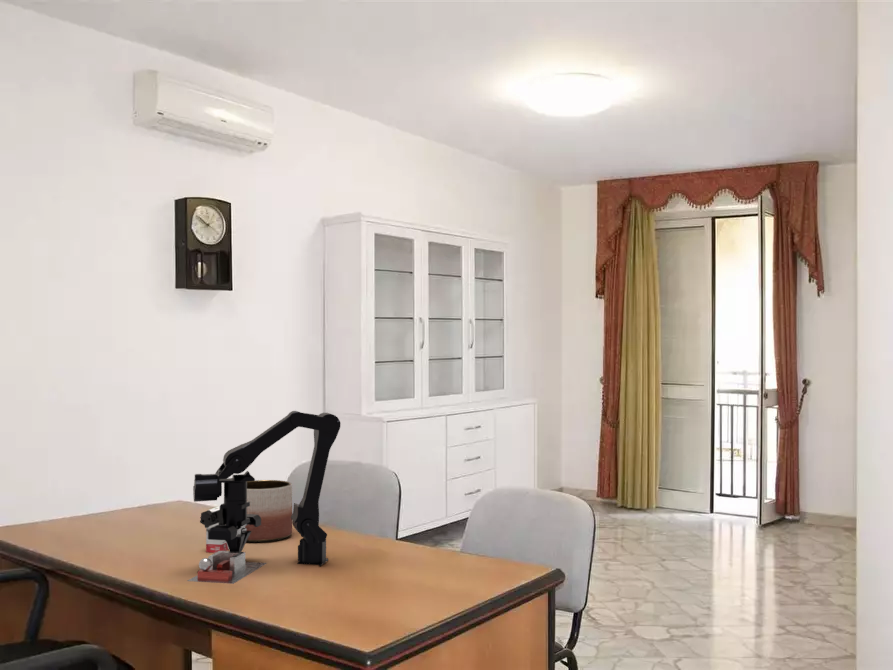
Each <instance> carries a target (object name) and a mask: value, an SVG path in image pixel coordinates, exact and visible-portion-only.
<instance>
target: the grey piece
mask: <svg viewBox="0 0 893 670" xmlns="http://www.w3.org/2000/svg"><path fill="white" fill-rule="evenodd" d="M267 564H268V562H261V561H260V562H259V561H256V562H254V561H245V570H244V571H243V572H241V573H239V574H238V575H236V576H232V571H230V561H228V560H224V561H222V562H220V563H218V564H217V570H209V569H210V568H211V566H212V562H211V560H210V559H208V557H204V558H202V559H200V560H199V562H198V567H199V570H197V575H195V576H193V577H191V578H190V579H188V580H186V582H197V583H199V582H201V583H211V584H212V583H214V584H215V583H216V584H229V585H230V584H233V585H234V584H235V583H238V582H239V581H240V580H242V579H243V578H245V577H247V576H248V575H250V574H252V573H254V572H255V571H257V570H258V569H260V568H262V567H263V566H265V565H267Z"/></svg>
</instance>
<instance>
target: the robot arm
mask: <svg viewBox="0 0 893 670" xmlns="http://www.w3.org/2000/svg"><path fill="white" fill-rule="evenodd" d="M341 425H342V424H341V421H340V419H339V418H338V416H337V415H336V414H333V413H329V412H322V413H319V414H313V413H307V412H301V411H297V410H292V411H290V412H289V413H288V414H287V415H286V416H284V417H283V418H282V419H280V420H278V421H277V422H276V423H275V424H273V425H271V426H270V427H269V428H267V429H266V430H264V431H263V432H261V433H260V434H258V435H257V436H256V437H255V438H252V440H249V441H246V442H244V443H241V444H239V445H237V446H235V447H233V448H230V449H229V450H227V451H226V452H225V453H224V455H223V459H222V461H223V462H222V463H221V465H220V466H219V467H218V469H217V470H216V472H215V473H208V474H205V473H204V474H202V473H195V474H194V480H193V481H194V482H193V488H192V490H193V494H192V495H193V502H195V503H196V502H211V501H214V502H215V501H218V498H220V497H222V494H223V503H221V504H220V505H219V506H220V510H217V511H214V512H211V511H210V509H208V511H207V510H206V511H202V512H201V513H200V520H199V523H200V524H201V525H203V526H204V528H205V529H206V528H207V527H209V526H211V525H214V524H217V523H219V525H216V526H214V527H212V528H211V529H210V530H209V531H208V539H209V540H225V541H226V542H227V544H228V547H229V550H228V551H234V552H243V551H244V547H245V545H246V543H247V542H246V541H247V539H248V537H249V535H250V533H251V531H247V530H246V528H245V526H246V525H254V526H255V527H258V526H260V525H261V517H260V516H259V515H258V514H247V507H248V506H250V502H247V481H255V480H256V479H255V477H254V476H253V475H251V473H250V471H249V470H247V469H248V468H249V467H250V466H251V465H252V464H253V463H254V462H255V460H256V459H257V458H258V457H259V456H260V455H261V454H262V453H263V452H264V451H266V450H267V449H268V448H270V447H272V446H273V445H274V444H276V443H277V442H278V441H280V440H281V439H283V438H284V437H285V436H287V435H288V434H290V433H291V432H293V431H294V430H296V429H297V428H304V429H308V430H309V429H310V430H313V449H312V455H311V459H310V465H309V468H308V469H309V470H308V472H307V477H306V482H305V487H304V490H303V495H302V498H301V500H300V502H299V504H298V503H296V502H295V503H293V508H292V516H291V519H292V527H293V528H294V529H295V530H296V532H297V533H298V534H299V535H300V536H301V538H300V539H299V544H298V545H297V561H298V562H297V563H296V564H297V565H311V566H312V565H313V566H318V567H321V566H323V565H325V563H327V562H328V561H329V558H327V536H328V533H327V532H326V531H325V530H323V528H322V527H321V526H320V525H319V524H320V505H319V504H320V503H319V501H320V496H321V491H322V488H323V482H324V478H325V472H326V470H327V463H328V460H329V455H330V452H331V448H332V446H333V445H334V442H335V441H336V439H337V436H338V434H339V432H340V429H341ZM244 471H246V472H245V473H244ZM241 473H243V474H241ZM231 476H232V477H231ZM222 485H223V486H222ZM222 489H223V490H222Z"/></svg>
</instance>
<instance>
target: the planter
mask: <svg viewBox="0 0 893 670" xmlns="http://www.w3.org/2000/svg"><path fill="white" fill-rule="evenodd" d="M247 502H250V506H248V507H247V514H258V515H259V516H260V517H261V525H260V526H258V527H255V526H254V525H246V526H245V528H246V530H247V531H251V533H250V535H249V537H248V539H247V541H246V543H270V542H276V541H277V542H278V541H280V540H284V539H286V538H288V537H290V536H291V535H292V534H293V523H292V522H293V520H292V519H291V516H292V514H293V485H292V482H290V481H288V480H287V481H286V480H278V479H260V480H259V479H258V480H257V479H255V481H247Z"/></svg>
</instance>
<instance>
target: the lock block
mask: <svg viewBox="0 0 893 670" xmlns="http://www.w3.org/2000/svg"><path fill="white" fill-rule="evenodd" d="M207 558H208V559H210V560H211V562H212V566H211V568H210V569H209V570H217V564H218V563H220V562H222V561H224V560H228V561H230V571H232V576H236V575H238V574H239V573H241V572H243V571H244V570H245V562H246V551H242V552H234V551H230V550H227V551H218V552H216V553H212V554H211V555H208V557H207Z"/></svg>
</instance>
